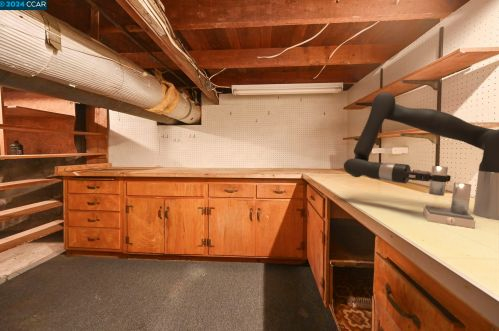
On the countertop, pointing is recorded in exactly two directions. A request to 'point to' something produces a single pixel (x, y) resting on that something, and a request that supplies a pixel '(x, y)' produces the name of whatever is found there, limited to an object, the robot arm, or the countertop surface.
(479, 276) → the countertop surface
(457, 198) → the cylinder
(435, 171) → the cylinder
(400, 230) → the countertop surface
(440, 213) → the scale
